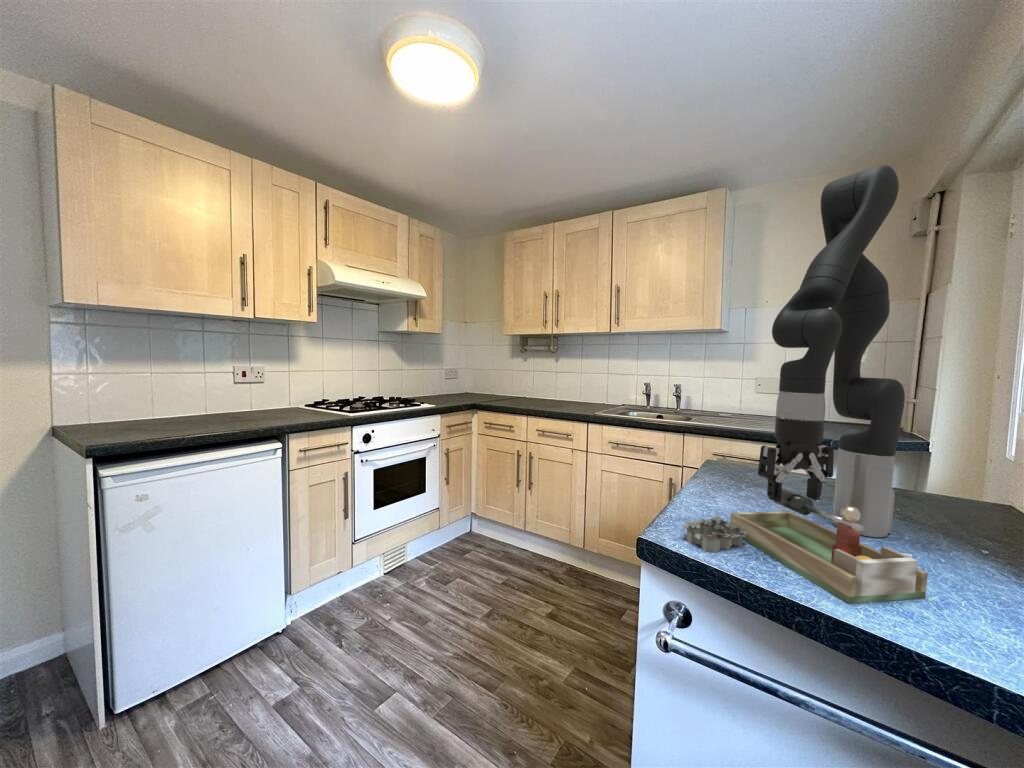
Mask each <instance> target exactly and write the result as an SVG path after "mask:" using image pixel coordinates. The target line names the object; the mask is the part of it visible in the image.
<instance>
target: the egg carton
mask: <svg viewBox="0 0 1024 768" xmlns="http://www.w3.org/2000/svg"><path fill="white" fill-rule="evenodd" d="M682 528H683V529H686V535H685V538H686V542H687V543H689V544H696V545H699V546H701V550H703V551H704V552H713V553H719V552H720V550H721V549H725V550H727V551H729V550H730V549H731V548H732V546H736V547H743V541H744V540H743V536H744V537H746V534H747V531H745V532H743V531H741V530H740V528H739V526H734V525H733V524H731V523H730V521H728V520H724V519H723V518H722V517H720V516H719V515H716V516H715V517H711V518H706V519H704V518H702V519H700V520H695V521H690V520H689V521H685V522H684V524H683V527H682Z"/></svg>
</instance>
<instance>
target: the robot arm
mask: <svg viewBox="0 0 1024 768" xmlns="http://www.w3.org/2000/svg"><path fill="white" fill-rule="evenodd" d="M899 183H900V181H899V178H898V175H897V172H896V171H895V169H894V168H893V167H892V166H890V165H887V164H879V165H875V166H872V167H869V168H866V169H863V170H861V171H857V172H854V173H851V174H848V175H846V176H843V177H840V178H837V179H834V180H833V181H830V182H828V183H827V184H826V185H825V186H824V188H823V189H822V192H821V196H820V215H821V220H822V227H823V233H824V238H825V244H826V245H825V246H824V247H823V248H822V249H821V250H820V251H819V252H818V253H817V254H816V255H815V256H814V258H813V260H812V261H811V262H810V264H809V266H808V267H807V270H806V272H805V274H804V277H803V280H802V282H801V285H800V286H799V289H798V290H797V291H796V292H795V294H793V296H791V298H790V299H789V301H787V303H786V304H785V305H784V306H783V308H781V310H780V311H779V312H778V314H777V315H776V317H775V319H774V321H773V324H772V328H771V335H772V339H773V341H774V342H775V344H776V345H777V346H779V347H781V348H785V349H799V348H800V349H801V348H803V349H805V348H806V349H807V351H806V352H805V354H804V356H803V357H801V358H798V359H795V360H789V361H785V362H784V363H782V364H781V367H780V373H779V388H778V395H777V399H776V409H775V421H774V424H775V425H774V438H776V441H777V443H776V444H775V446H768V445H762V446H760V452H759V453H760V454H759V461H758V468H757V469H758V470H757V475H758V476H760V477H762V478H765V479H766V480H767V490H766V494H767V497H768V499H769V500H771V501H773V502H774V501H775V502H780V501H781V492H782V488H783V482H782V481H783V480H784V478H785V477H786V476H787V475H789V474H790V473H791V472H792V471H798V470H804V471H805V473H806V474H807V476H808V478H807V483H806V484H807V485H806V498H809V499H811V500H814V501H819V500H820V498H821V496H822V486H823V481H824V482H825V480H826V479H827V478H829V479H830V478H832V477H833V476H834V459H835V458H834V454H835V453H834V451H835V450H834V447H832V446H829V445H824V444H822V443H823V441H824V432H825V417H826V401H825V400H826V397H825V396H826V395H825V393H826V377H827V373H828V369H829V366H830V363H831V361H832V356H833V355H834V356H833V357H834V358H833V359H834V360H833V379H832V380H833V381H832V402H833V406H834V409H835V411H836V413H837V414H838V415H839V416H840V417H844V418H848V419H857V420H862V421H863V420H864V421H870V423H869V426H868V428H867V429H865V430H863V431H861V432H857V433H856V432H855V433H848V434H843V435H841V436H840V437H839V440H838V451H837V463H836V474H835V475H836V476H835V486H834V497H833V508H832V514H834V515H837V516H839V517H841V515H840V510H841V508H842V507H844V506H853V507H855V508H857V509H858V510H859V512H860V515H861V516H860V519H859V520H858V521H856V522H854V523H857V524H859V525H862V526H864V528H865V530H864V532H863V533H860V536H863V537H864V536H865V537H869V538H870V537H871V538H886V537H887V536H888V533H891V534H892V526H893V516H894V505H895V494H896V491H895V489H893V485H894V484H893V480H894V472H895V461H896V451H897V450H896V449H897V446H898V442H899V440H900V432H901V426H902V419H903V414H904V409H905V403H906V402H905V399H906V394H905V389H904V386H903V384H902V383H901V382H900V381H899V380H897V379H894V378H884V377H863V376H861V367H862V365H861V364H862V359H863V356H864V354H865V352H866V350H867V349H868V347H869V345H870V344H871V342H872V341H874V339H875V337H876V336H877V335H878V334H879V332H880V331H881V330H882V328H883V327H884V326H885V324H886V322H887V320H888V317H889V315H890V295H889V294H890V291H889V289H890V288H889V282H888V280H887V278H886V277H885V275H884V274H883V273H882V272H881V270H880V269H879V268H878V267H877V266H876V265H875V264H874V263H873V262H872V261H870V259H868V258H867V257H866V256H865V254H864V252H865V251H866V249H867V248H868V245H869V244H870V243H871V242H872V240H873V238H874V237H875V235H876V234H877V233H878V231H879V229H880V228H881V226H882V224H883V223H884V222H885V221H886V218H887V217H888V216H889V214H890V212H891V210H892V209H893V207H894V205H895V203H896V200H897V197H898V194H899V189H900V184H899ZM775 502H774V503H775ZM831 523H832V525H834V526H836V527H837V525H838V523H835V522H833V521H831Z"/></svg>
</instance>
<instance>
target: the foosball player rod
mask: <svg viewBox="0 0 1024 768" xmlns="http://www.w3.org/2000/svg"><path fill="white" fill-rule="evenodd" d="M812 500H813V499H811V498H808V497H807V496H804V495H800V494H798V493H795V492H793V491H790V490H788V489H784V488H783V487H782V492H781V501H780V502H775V501H773V502H774V503H775V504H777V505H780V506H782V507H784V508H787V509H789V510H791V511H794V513H797V514H799V515H802V516H808V515H810V514H811V513H812V514H814V515H816V516H819V517H821V518H824V519H826V520H828V521H830V522H832V521H833V522H835V523H838V525H837V526H836V527H837V529H836V532H837V536H836V544H833V546H832V557H831V564H833V560H834V549H840V550H842V551H844V552H846V553H848V554H850V555H852V556H854V557H855V556H861V553H862V547H860V546H859V542H860V540H861V535H860V533H863V532H864V530H865V528H864V526H862V525H859V524H857V523H854V522H856V521H858V520H859V519H860V516H861V515H860V512H859V510H858V509H857V508H855V507H853V506H844V507H842V508H841V510H840V515H841V517H839V516H837V515H834V514H833V512H832V513H831V512H828V511H826V510H824V509H821V508H819V507H816V506H814V501H812Z"/></svg>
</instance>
